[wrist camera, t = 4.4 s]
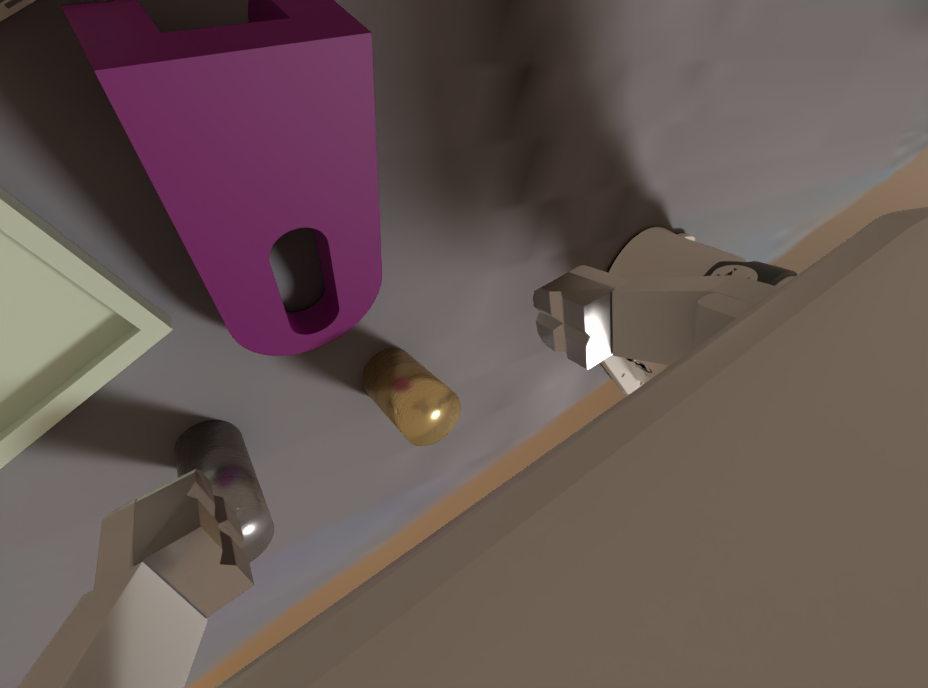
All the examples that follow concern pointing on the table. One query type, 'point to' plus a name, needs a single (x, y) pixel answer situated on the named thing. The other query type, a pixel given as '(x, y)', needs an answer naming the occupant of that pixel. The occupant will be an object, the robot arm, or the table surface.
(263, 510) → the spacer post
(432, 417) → the gold metallic cylinder
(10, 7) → the label tile
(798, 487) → the robot arm
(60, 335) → the parts tray
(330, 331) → the mounting bracket
